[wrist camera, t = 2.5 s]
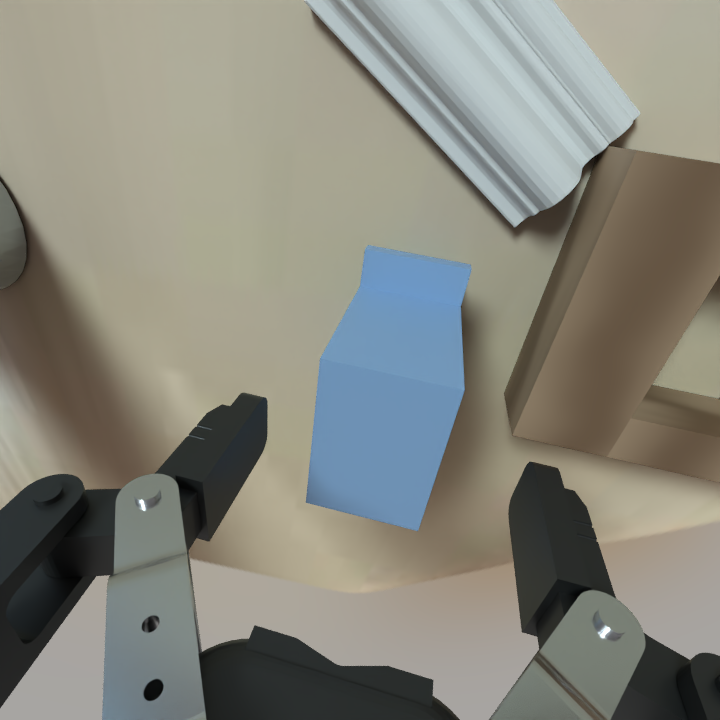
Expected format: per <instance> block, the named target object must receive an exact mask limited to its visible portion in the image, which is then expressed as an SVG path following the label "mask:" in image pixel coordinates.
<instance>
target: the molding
mask: <svg viewBox="0 0 720 720" xmlns="http://www.w3.org/2000/svg"><path fill="white" fill-rule="evenodd" d="M304 2H305V3H306V4H307V5H308V6H309V7H310V8H311V9H312V10H313V11H314V12H315V14H316V15H317V16H318V17H319V18H320V19H321V20H322V21H323V22H324V23H325V24H326V25H327V26H328V28H329V29H330V30H331V31H332V32H333V33H334V34H335V35H336V36H337V37H338V38H339V39H340V40H341V41H342V43H343V44H344V45H345V46H346V47H347V48H348V49H349V50H350V51H351V52H352V53H353V54H354V55H355V57H356V58H357V59H358V60H359V61H360V62H361V63H362V64H363V65H364V66H365V67H366V68H367V69H368V71H369V72H370V73H371V74H372V75H373V76H374V77H375V78H376V79H377V80H378V81H379V82H380V83H381V85H382V86H383V87H384V88H385V89H386V90H387V91H388V92H389V93H390V94H391V95H392V96H393V97H394V98H395V100H396V101H397V102H398V103H399V104H400V105H401V106H402V107H403V108H404V109H405V110H406V111H407V112H408V114H409V115H410V116H411V117H412V118H413V119H414V120H415V121H416V122H417V123H418V124H419V125H420V126H421V128H422V129H423V130H424V131H425V132H426V133H427V134H428V135H429V136H430V137H431V138H432V139H433V140H434V142H435V143H436V144H437V145H438V146H439V147H440V148H441V149H442V150H443V151H444V152H445V153H446V154H447V155H448V157H449V158H450V159H451V160H452V161H453V162H454V163H455V164H456V165H457V166H458V167H459V168H460V169H461V171H462V172H463V173H464V174H465V175H466V176H467V177H468V178H469V179H470V180H471V181H472V182H473V183H474V185H475V186H476V187H477V188H478V189H479V190H480V191H481V192H482V193H483V194H484V195H485V196H486V197H487V199H488V200H489V201H490V202H491V203H492V204H493V205H494V206H495V207H496V208H497V209H498V210H499V211H500V213H501V214H502V215H503V216H504V217H505V218H506V219H507V220H508V221H509V222H510V223H511V224H512V225H513V226H514V228H515V227H516V226H517V225H518V224H520V223H521V222H522V221H523V220H524V219H526V218H527V217H529V216H531V215H532V216H534V215H536V214H537V213H538V212H539V211H541V210H545V209H548V208H550V207H552V206H554V205H555V204H557V203H558V202H559V201H561V200H562V199H563V198H564V197H565V196H567V195H568V194H569V193H570V192H571V191H572V190H573V189H574V187H575V186H576V185H577V184H578V182H579V181H580V178H581V173H582V168H583V166H584V165H585V164H586V163H587V162H588V161H589V160H590V159H591V158H593V157H594V156H595V155H597V154H598V153H600V152H601V151H603V150H604V149H605V148H606V147H607V146H608V144H610V143H611V142H612V141H614V140H615V139H617V138H618V137H619V136H621V135H622V134H623V133H624V132H625V131H626V130H627V129H628V128H629V127H630V126H631V125H632V123H633V120H635V119H636V118H637V117H638V116H639V115H640V112H639V111H638V109H637V108H636V107H635V105H634V104H633V103H632V102H631V100H630V99H629V98H628V96H627V95H626V94H625V92H624V91H623V90H622V89H621V87H620V86H619V85H618V83H617V82H616V81H615V80H614V78H613V77H612V76H611V74H610V73H609V72H608V71H607V69H606V68H605V67H604V65H603V64H602V63H601V61H600V60H599V59H598V58H597V56H596V55H595V54H594V52H593V51H592V50H591V49H590V47H589V46H588V45H587V43H586V42H585V41H584V40H583V38H582V37H581V36H580V34H579V33H578V32H577V30H576V29H575V28H574V27H573V25H572V24H571V23H570V21H569V20H568V19H567V18H566V16H565V15H564V14H563V12H562V11H561V10H560V8H559V7H558V6H557V5H556V3H555V2H554V1H553V0H305V1H304Z"/></svg>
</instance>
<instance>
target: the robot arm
mask: <svg viewBox="0 0 720 720" xmlns="http://www.w3.org/2000/svg"><path fill="white" fill-rule="evenodd" d="M25 262H26V239H25V234H24V229H23V225H22V222H21V220H20V217H19V214H18V212H17V209H16V207H15V205H14V203H13V201H12V200H11V198H10V196H9V194H8V192H7V190H6V189H5V187H4V186H3V184H2V183H1V182H0V289H3V288H6V287H8V286H9V285H11V284H12V283H14V282H15V281H17V279H18V278H19V276H20V275H21V273H22V272H23V269H24V265H25ZM266 440H267V399H266V398H264V397H260V396H256V395H252V394H247V393H241V394H240V395H239V396H238V398H237V399H236V400H235V401H234V402H233V404H232V405H231V406H226V405H220V406H219V407H217V408H215V409H213V410H212V411H210V412H208V413H207V414H206V415H205V416H204V417H203V419H202V420H201V421H200V422H199V423H198V424H197V427H195V428H194V429H193V430H192V431H191V432H190V434H189V436H188V437H186V438H185V439H184V441H183V442H182V443H181V444H180V445H179V446H178V447H177V449H176V450H175V451H174V452H173V453H172V454H171V456H170V457H169V458H168V459H167V460H166V461H165V462H164V464H163V465H162V466H161V467H160V468H159V469H158V471H157V472H156V473H155V474H148V475H144V476H141V477H138V478H136V479H134V480H132V481H131V482H129V483H128V484H126V485H125V486H124V487H123V488H122V489H97V490H85V488H84V485H83V483H82V481H81V480H80V479H79V478H78V477H76V476H73V475H69V474H58V475H52V476H48V477H45V478H42V479H40V480H37V481H35V482H33V483H32V484H30V485H29V486H27V487H26V488H24V489H23V490H22V491H21V492H20V493H19V494H18V495H17V496H15V497H14V498H13V499H12V500H11V501H10V502H9V503H8V504H7V505H6V506H5V507H3V508H2V509H1V510H0V708H1V706H2V705H3V704H4V702H5V701H6V699H7V698H8V696H9V695H10V694H11V693H12V691H13V690H14V688H15V687H16V686H17V684H18V683H19V682H20V680H21V679H22V677H23V676H24V675H25V673H26V672H27V671H28V669H29V668H30V666H31V665H32V664H33V662H34V661H35V659H36V658H37V657H38V656H39V654H40V653H41V651H42V650H43V648H44V647H45V646H46V644H47V643H48V642H49V640H50V639H51V638H52V636H53V635H54V633H55V632H56V631H57V629H58V628H59V626H60V625H61V624H62V623H63V621H64V620H65V618H66V617H67V616H68V614H69V613H70V612H71V610H72V609H73V607H74V606H75V605H76V603H77V602H78V601H79V599H80V598H81V596H82V595H83V594H84V592H85V591H86V590H87V588H88V587H89V585H90V584H91V583H92V581H93V580H94V579H95V577H96V576H104V575H110V576H109V579H108V584H107V605H106V633H105V658H104V685H103V712H102V720H460V719H459V718H458V717H457V716H456V715H455V714H454V713H453V712H452V711H451V710H450V709H449V708H448V707H447V706H445V705H444V704H443V703H442V702H441V701H440V700H438V699H437V698H435V697H434V696H432V694H433V680H432V679H428V678H425V677H422V676H418V675H415V674H412V673H409V672H405V671H402V670H399V669H395V668H392V667H389V666H339V665H336V664H334V663H333V662H332V661H330V660H329V659H327V658H325V657H324V656H322V655H321V654H319V653H318V652H316V651H315V650H313V649H312V648H311V647H309V646H308V645H306V644H305V643H303V642H302V641H300V640H299V639H297V638H294V637H291V636H288V635H284V634H281V633H278V632H275V631H271V630H268V629H265V628H262V627H258V626H254V628H253V631H252V633H251V636H250V638H249V639H239V640H232V641H228V642H224V643H221V644H218V645H216V646H214V647H211V648H209V649H207V650H205V651H203V652H202V649H201V642H200V634H199V627H198V620H197V613H196V606H195V598H194V590H193V582H192V574H191V567H190V559H189V551H188V550H189V549H190V547H191V546H192V544H193V543H194V541H195V539H196V538H198V539H202V540H205V541H210V540H211V538H212V536H213V535H214V533H215V531H216V530H217V528H218V526H219V525H220V523H221V521H222V519H223V518H224V516H225V514H226V513H227V511H228V509H229V508H230V506H231V504H232V503H233V501H234V499H235V498H236V496H237V494H238V493H239V491H240V489H241V488H242V486H243V484H244V483H245V481H246V479H247V478H248V476H249V474H250V473H251V471H252V469H253V468H254V466H255V464H256V463H257V461H258V459H259V458H260V456H261V454H262V452H263V450H264V447H265V444H266ZM509 525H510V534H511V542H512V551H513V559H514V568H515V576H516V585H517V594H518V602H519V611H520V619H521V628H522V632H523V633H527V634H530V635H534V636H537V637H538V643H539V651H538V652H537V653H536V655H535V656H534V657H533V659H532V660H531V662H530V663H529V664H528V666H527V667H526V669H525V670H524V672H523V673H522V675H521V676H520V677H519V678H518V680H517V681H516V683H515V684H514V686H513V687H512V688H511V690H510V691H509V692H508V694H507V695H506V697H505V698H504V699H503V701H502V702H501V704H500V705H499V707H498V708H497V709H496V711H495V712H494V713H493V715H492V716H491V718H490V719H489V720H720V656H718V655H715V654H711V653H700V654H698V655H696V656H695V657H693V658H692V659H691V660H689V659H687V658H686V657H684V656H682V655H680V654H678V653H677V652H675V651H673V650H671V649H670V648H668V647H666V646H664V645H663V644H661V643H659V642H657V641H656V640H654V639H652V638H651V637H649V636H648V635H646V634H645V633H644V632H643V630H642V628H641V625H640V624H639V622H638V620H637V619H636V618H635V616H634V615H633V613H632V612H631V611H630V610H629V609H628V608H627V607H626V606H625V605H624V604H622V603H621V602H620V601H618V600H617V599H616V597H615V594H614V591H613V588H612V585H611V582H610V579H609V575H608V572H607V569H606V566H605V563H604V560H603V557H602V554H601V550H600V547H599V544H598V542H596V539H597V538H596V535H595V532H594V529H593V528H592V522H591V519H590V516H589V513H588V510H587V507H586V506H585V504H584V503H583V502H582V500H581V499H580V498H579V496H578V495H577V494H576V492H575V491H573V490H569V489H565V488H564V485H563V482H562V478H561V475H560V471H559V469H558V468H555V467H551V466H547V465H543V464H539V463H534V462H529V463H528V464H527V465H526V467H525V469H524V471H523V474H522V476H521V478H520V480H519V482H518V484H517V486H516V488H515V490H514V493H513V495H512V497H511V500H510V505H509Z"/></svg>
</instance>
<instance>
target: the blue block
mask: <svg viewBox="0 0 720 720" xmlns="http://www.w3.org/2000/svg"><path fill="white" fill-rule="evenodd" d="M470 273H471V265H470V264H465V263H459V262H454V261H449V260H444V259H438V258H433V257H428V256H423V255H418V254H412V253H407V252H402V251H397V250H391V249H386V248H381V247H376V246H371V245H368V246H367V247H366V249H365V255H364V262H363V269H362V276H361V283H360V287H359V289H358V291H357V293H356V295H355V296H354V298H353V300H352V302H351V304H350V306H349V307H348V309H347V311H346V313H345V315H344V316H343V318H342V320H341V322H340V324H339V325H338V327H337V329H336V331H335V333H334V334H333V336H332V338H331V340H330V342H329V343H328V345H327V347H326V349H325V351H324V353H323V354H322V356H321V358H320V366H319V376H318V386H317V396H316V406H315V416H314V426H313V436H312V446H311V457H310V467H309V477H308V487H307V497H306V503H310V504H314V505H318V506H321V507H325V508H329V509H333V510H337V511H341V512H345V513H349V514H353V515H357V516H361V517H365V518H369V519H372V520H376V521H380V522H384V523H388V524H392V525H396V526H400V527H404V528H408V529H412V530H416V531H418V530H419V527H420V524H421V521H422V518H423V515H424V512H425V508H426V505H427V502H428V499H429V496H430V493H431V490H432V487H433V484H434V481H435V478H436V475H437V472H438V469H439V466H440V463H441V460H442V457H443V454H444V451H445V448H446V445H447V442H448V439H449V436H450V433H451V430H452V427H453V424H454V421H455V418H456V415H457V412H458V409H459V406H460V403H461V400H462V397H463V394H464V391H465V387H464V366H463V344H462V323H461V304H462V301H463V297H464V294H465V290H466V287H467V283H468V280H469V276H470Z"/></svg>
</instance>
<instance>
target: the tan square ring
mask: <svg viewBox="0 0 720 720" xmlns="http://www.w3.org/2000/svg"><path fill="white" fill-rule="evenodd" d="M719 276H720V164H719V163H712V162H706V161H700V160H694V159H687V158H681V157H675V156H668V155H662V154H656V153H650V152H643V151H637V150H631V149H624V148H618V147H612V146H607V147H606V148H605V149H604V150H603V151H601V152H600V153H599V155H598V157H597V160H596V162H595V165H594V167H593V170H592V172H591V175H590V177H589V180H588V182H587V185H586V187H585V190H584V192H583V195H582V198H581V200H580V203H579V205H578V208H577V210H576V213H575V215H574V218H573V220H572V223H571V225H570V228H569V230H568V233H567V235H566V238H565V241H564V243H563V246H562V248H561V251H560V253H559V256H558V258H557V261H556V263H555V266H554V268H553V271H552V273H551V276H550V278H549V281H548V284H547V286H546V289H545V291H544V294H543V296H542V299H541V301H540V304H539V306H538V309H537V311H536V314H535V316H534V319H533V321H532V324H531V327H530V329H529V332H528V334H527V337H526V339H525V342H524V344H523V347H522V349H521V352H520V354H519V357H518V359H517V362H516V364H515V367H514V370H513V372H512V375H511V377H510V380H509V382H508V385H507V387H506V390H505V392H504V395H505V400H506V406H507V411H508V416H509V421H510V426H511V432H512V436H517V437H521V438H526V439H530V440H534V441H539V442H543V443H548V444H552V445H556V446H561V447H565V448H570V449H574V450H578V451H583V452H587V453H592V454H596V455H600V456H605V457H609V458H614V459H618V460H622V461H627V462H631V463H636V464H640V465H644V466H649V467H653V468H658V469H662V470H666V471H671V472H675V473H680V474H684V475H688V476H693V477H697V478H702V479H706V480H710V481H715V482H719V483H720V398H719V399H716V398H711V397H707V396H702V395H697V394H692V393H687V392H683V391H678V390H673V389H668V388H664V387H659V386H654V385H652V384H653V382H654V380H655V379H656V377H657V376H658V374H659V372H660V371H661V369H662V368H663V366H664V364H665V363H666V361H667V359H668V358H669V356H670V355H671V353H672V351H673V350H674V348H675V347H676V345H677V343H678V342H679V340H680V339H681V337H682V335H683V334H684V332H685V330H686V329H687V327H688V326H689V324H690V322H691V321H692V319H693V318H694V316H695V314H696V313H697V311H698V310H699V308H700V306H701V305H702V303H703V301H704V300H705V298H706V297H707V295H708V293H709V292H710V290H711V289H712V287H713V285H714V284H715V282H716V281H717V279H718V277H719Z"/></svg>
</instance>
